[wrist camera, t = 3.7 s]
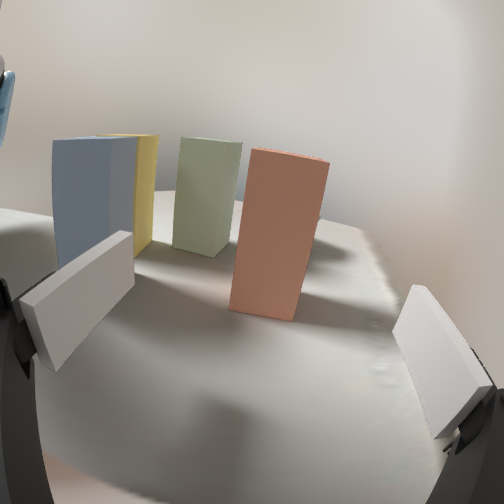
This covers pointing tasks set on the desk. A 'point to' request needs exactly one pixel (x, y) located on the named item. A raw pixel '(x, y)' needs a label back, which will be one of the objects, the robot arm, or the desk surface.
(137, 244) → the mustard pillar
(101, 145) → the slate pillar
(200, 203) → the sage pillar
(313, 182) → the terracotta pillar
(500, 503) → the robot arm
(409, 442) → the desk surface
